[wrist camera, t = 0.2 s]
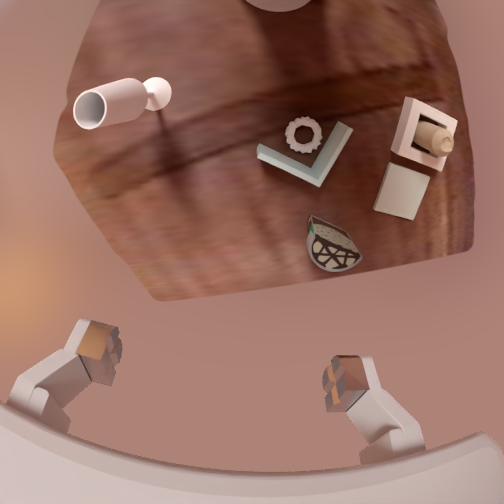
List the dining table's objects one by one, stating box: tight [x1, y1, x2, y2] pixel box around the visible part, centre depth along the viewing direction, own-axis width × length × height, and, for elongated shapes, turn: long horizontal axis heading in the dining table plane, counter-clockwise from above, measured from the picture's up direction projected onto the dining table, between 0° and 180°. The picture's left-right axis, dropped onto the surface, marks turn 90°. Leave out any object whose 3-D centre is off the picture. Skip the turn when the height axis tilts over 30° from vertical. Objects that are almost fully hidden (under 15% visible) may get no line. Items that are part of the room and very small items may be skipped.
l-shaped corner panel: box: [257, 117, 353, 187], centre depth 48 cm, size 12×12×8 cm
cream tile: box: [373, 162, 430, 220], centre depth 55 cm, size 11×11×1 cm
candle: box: [413, 121, 454, 157], centre depth 44 cm, size 6×6×10 cm
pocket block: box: [391, 97, 457, 171], centre depth 47 cm, size 12×12×4 cm
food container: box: [307, 214, 363, 272], centre depth 58 cm, size 12×6×10 cm, turn 66°
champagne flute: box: [73, 77, 172, 129], centre depth 35 cm, size 7×7×24 cm
